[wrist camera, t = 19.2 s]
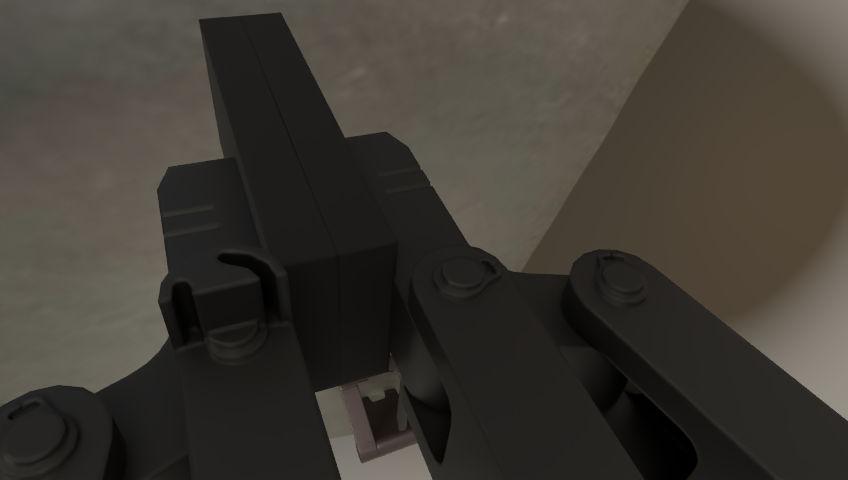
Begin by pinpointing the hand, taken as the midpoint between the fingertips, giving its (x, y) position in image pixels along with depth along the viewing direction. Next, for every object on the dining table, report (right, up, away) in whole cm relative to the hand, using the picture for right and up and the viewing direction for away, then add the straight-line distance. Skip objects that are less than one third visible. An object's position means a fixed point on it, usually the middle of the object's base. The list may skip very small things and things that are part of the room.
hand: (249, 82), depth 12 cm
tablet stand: (-2, -19, +59) cm, 62 cm away
